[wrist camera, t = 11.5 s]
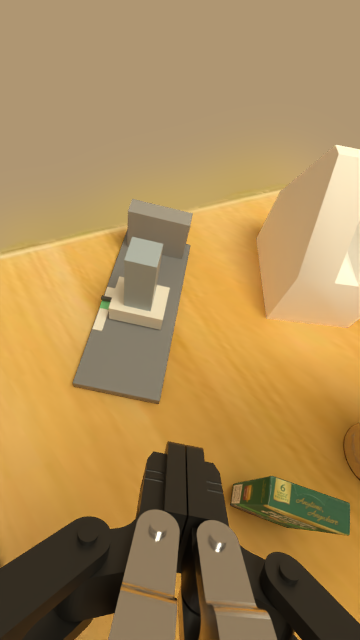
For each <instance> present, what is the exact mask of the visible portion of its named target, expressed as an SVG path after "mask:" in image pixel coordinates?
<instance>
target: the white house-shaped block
mask: <svg viewBox="0 0 360 640" xmlns="http://www.w3.org/2000/svg"><path fill="white" fill-rule="evenodd" d="M256 241H257V249H258V257H259V264H260V272H261V280H262V288H263V296H264V304H265V312H266V319H274V320H283V321H291V322H300V323H309V324H318V325H326V326H335V327H344V328H348V327H350V326H351V325H352V324H353V323H355V322H356V321H357V320H358V319H360V149H355V148H350V147H344V146H339V145H335V146H334V147H332V148H331V149H330V150H329V151H327V152H326V153H325V154H324V155H323V156H322V157H320V158H319V159H318V160H317V161H316V162H315V163H313V164H312V165H311V166H310V167H309V168H308V169H306V170H305V171H304V172H303V173H301V174H300V175H299V176H298V177H297V178H296V179H294V180H293V181H292V182H291V183H290V184H288V185H287V186H286V187H285V188H284V189H283V190H281V191H280V193H279V195H278V197H277V199H276V201H275V203H274V205H273V207H272V209H271V210H270V212H269V214H268V216H267V218H266V220H265V222H264V224H263V226H262V228H261V230H260V232H259V234H258V236H257V238H256Z"/></svg>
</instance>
